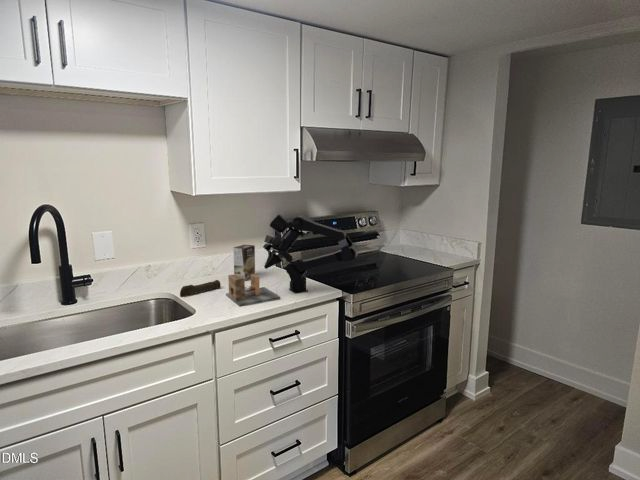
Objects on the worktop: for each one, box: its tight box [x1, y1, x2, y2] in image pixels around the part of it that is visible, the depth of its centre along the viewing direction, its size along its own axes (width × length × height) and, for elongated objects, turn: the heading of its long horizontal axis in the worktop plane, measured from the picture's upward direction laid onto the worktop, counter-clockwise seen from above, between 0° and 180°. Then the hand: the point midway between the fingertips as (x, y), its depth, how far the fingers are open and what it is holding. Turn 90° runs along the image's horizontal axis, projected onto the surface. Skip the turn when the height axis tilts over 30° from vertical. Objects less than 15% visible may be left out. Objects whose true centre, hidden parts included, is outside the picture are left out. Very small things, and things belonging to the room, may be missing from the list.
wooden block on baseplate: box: [225, 273, 281, 308], centre depth 180 cm, size 18×16×10 cm
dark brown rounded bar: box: [179, 279, 221, 298], centre depth 187 cm, size 19×4×5 cm, turn 134°
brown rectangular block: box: [245, 273, 261, 296], centre depth 179 cm, size 9×5×8 cm, turn 122°
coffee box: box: [233, 244, 256, 282], centre depth 208 cm, size 9×6×16 cm
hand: (265, 267), depth 182 cm, fingers closed
